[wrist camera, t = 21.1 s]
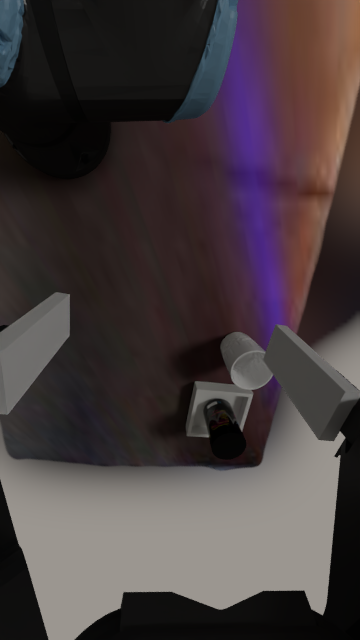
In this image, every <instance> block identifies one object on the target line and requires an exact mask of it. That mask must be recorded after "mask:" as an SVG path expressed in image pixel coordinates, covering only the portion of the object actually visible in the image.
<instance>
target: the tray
mask: <svg viewBox="0 0 360 640" xmlns="http://www.w3.org/2000/svg"><path fill="white" fill-rule="evenodd" d="M252 397H253V393H252V391H251V390H245V389H242V388H239V387H238V386H236V385H232V384H221V383H210V382H199V381H195V383H194V388H193V393H192V397H191V402H190V407H189V412H188V417H187V421H186V433H187V436H196V437H209V435H208V431H207V427H206V423H205V419H204V415H203V410H204V407H205V405H206V404H207V403H208V402H209V401H211V400H213V399H218V398H219V399H224V400H226V401H228V402H229V403H230V405H231V407H232V409H233V412H234V414H235V416H236V419H237V421H238V424H239V426H240V429H241V431H242V429H243V426H244V423H245V420H246V416H247V413H248V410H249V407H250V403H251V400H252Z"/></svg>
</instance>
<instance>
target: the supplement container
mask: <svg viewBox="0 0 360 640" xmlns="http://www.w3.org/2000/svg"><path fill="white" fill-rule="evenodd" d="M203 415H204V419H205V423H206V427H207V431H208V435H209V439H210V445H211V448H212V452H213V454H214V455H215V456H216V457H218V458H220V459H226V460H227V459H233V458H236V457H238V456H239V455H241V454H242V453H243V452H244V450H245V448H246V440H245V438H244V435H243V433H242V431H241V429H240V426H239V424H238V421H237V419H236V416H235V414H234V412H233V409H232V407H231V405H230V403H229V402H228V401H226V400H224V399H219V398H218V399H213V400H211V401H209V402H208V403H207V404H206V405H205V407H204V410H203Z"/></svg>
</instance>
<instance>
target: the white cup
mask: <svg viewBox="0 0 360 640" xmlns="http://www.w3.org/2000/svg"><path fill="white" fill-rule="evenodd" d="M220 348H221V354H222V356H223V359H224V362H225V364H226V367H227V369H228V372H229V374H230V376H231V379H232V381H233V382H234V384H235V385H236V386H238V387H239V388H242V389H245V390H253V389H257V388H260V387H262V386H264V385H265V384H266V383H267V382H268V381H269V380H270V379H271V377H272V376H273V373H272V372H271V371H270V369H269V368H268V366H267V365H266V363H265V362H264V360H263V358H264V355H265V353H266V352H265V351H264V350H263V349H262V348H261V347H260V346H259V345H258V344H257V343H256V342H255V341H253V340H252V339H251V338H250V337H249V336H247V335H246V334H244V333H242V332H233V333H231V334H229V335H227V336H226V337H225V338H224V339H223V340H222V343H221V346H220Z"/></svg>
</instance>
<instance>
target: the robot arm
mask: <svg viewBox="0 0 360 640" xmlns="http://www.w3.org/2000/svg"><path fill="white" fill-rule="evenodd" d="M237 3H238V0H0V130H1V131H2V132H4V134H5V136H6V137H7V139H8V141H9V142H10V144H11V145H12V147H13V148H14V149H15V150H16V152H17V153H18V154H19V155H20V156H21V157H22V158H23V159H24V160H26V161H27V162H28V163H29V164H31V165H32V166H33V167H35V168H37V169H39V170H40V171H42V172H44V173H46V174H48V175H51V176H54V177H57V178H64V179H71V178H78V177H81V176H84V175H86V174H88V173H89V172H91V171H92V170H94V169H95V168H96V167H97V166H98V165H99V163H100V162H101V161H102V159H103V157H104V156H105V154H106V151H107V149H108V145H109V141H110V133H111V124H110V122H128V121H163V122H165V123H171V122H174V121H175V120H181V119H192V118H197V117H199V116H201V115H202V114H204V113H205V112H206V111H207V110H208V109H209V108H210V107H211V105H212V104H213V102H214V100H215V98H216V96H217V94H218V92H219V89H220V86H221V84H222V81H223V78H224V75H225V71H226V68H227V64H228V60H229V56H230V52H231V48H232V44H233V39H234V34H235V29H236V23H237V15H238V13H237V8H236V6H237ZM69 329H70V294H64V293H57V292H56V293H54V294H53V295H52V296H50V297H49V298H47V299H46V300H45V301H43V302H42V303H40V304H39V305H38V306H36V307H35V308H34V309H32V310H31V311H29V312H28V313H27V314H25V315H24V316H22V317H21V318H20V319H18V320H17V321H15V322H14V323H13V324H11V325H10V326H8V325H2V326H0V414H6V415H8V414H9V412H10V411H11V410H12V409H13V407H14V406H15V405H16V403H17V402H18V401H19V400H20V398H21V397H22V396H23V394H24V393H25V392H26V391H27V389H28V388H29V387H30V385H31V384H32V383H33V382H34V380H35V379H36V378H37V376H38V375H39V374H40V373H41V371H42V370H43V369H44V367H45V366H46V365H47V364H48V362H49V361H50V360H51V358H52V357H53V356H54V355H55V353H56V352H57V351H58V350H59V348H60V347H61V346H62V344H63V343H64V342H65V341H66V339H67V338H68V337H69ZM263 360H264V362H265V363H266V365H267V366H268V368H269V369H270V371H271V372H272V373H273V375H274V376H275V378H276V379H277V381H278V382H279V383H280V385H281V386H282V388H283V389H284V391H285V392H286V394H287V395H288V396H289V398H290V399H291V401H292V402H293V404H294V405H295V406H296V408H297V409H298V411H299V412H300V414H301V415H302V417H303V418H304V419H305V421H306V422H307V424H308V425H309V427H310V428H311V429H312V431H313V432H314V434H315V435H316V437H317V438H318V439H319V440H327V441H334V440H335V438H336V437H337V434H338V433H339V431H341V433H342V434H343V435H344V436H345V437H346V438H345V440H344V441H343V443H342V445H341V446H340V448H339V449H338V451H337V453H336V454H335V457H338V456H339V455H341V458H340V468H339V478H338V489H337V500H336V511H335V523H334V533H333V544H332V554H331V565H330V575H329V586H328V597H327V604H326V608H325V611H324V614H323V615H321V614H319V613H317V612H315V611H313V610H311V607H310V605H309V602H308V600H307V597H306V594H305V591H262V592H260V593H258V594H256V595H254V596H252V597H250V598H248V599H246V600H243V601H241V602H239V603H237V604H235V605H233V606H230V607H228V608H226V609H223V610H218V609H215V608H213V607H210V606H207V605H204V604H202V603H199V602H197V601H194V600H192V599H189V598H186V597H184V596H181V595H178V594H175V593H173V592H124V593H123V598H122V604H121V608H120V609H118V610H116V611H113V612H111V613H109V614H107V615H105V616H103V617H102V618H100V619H99V620H97V621H95V622H94V623H93V624H92V625H90V626H89V627H88V628H87V629H86V630H84V631H83V632H82V633H81V634H80V635H79V636H78V637H77V638H76V639H75V640H360V391H359V390H358V389H357V388H356V387H355V386H354V385H353V384H351V383H350V382H349V381H348V380H347V379H345V377H344V376H342V375H341V374H340V373H339V372H338V371H337V370H335V369H334V368H333V367H332V366H330V365H329V364H328V363H327V362H326V361H325V360H324V359H323V358H322V357H320V356H319V355H318V354H317V353H316V352H315V351H314V350H312V349H311V348H310V347H309V346H308V345H307V344H306V343H305V342H304V341H303V340H301V339H300V338H299V337H298V336H297V335H296V334H295V333H294V332H293V331H291V330H290V329H289V328H288V327H287V326H282V325H275V328H274V331H273V334H272V336H271V339H270V342H269V344H268V347H267V350H266V353H265V355H264V358H263ZM0 640H48V636H47V633H46V630H45V626H44V623H43V619H42V615H41V612H40V608H39V605H38V602H37V598H36V595H35V591H34V588H33V584H32V581H31V577H30V574H29V571H28V567H27V564H26V560H25V557H24V554H23V551H22V549H21V547H20V546H19V544H18V541H17V537H16V534H15V530H14V527H13V523H12V520H11V516H10V513H9V509H8V506H7V502H6V498H5V495H4V492H3V488H2V485H1V481H0Z"/></svg>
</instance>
